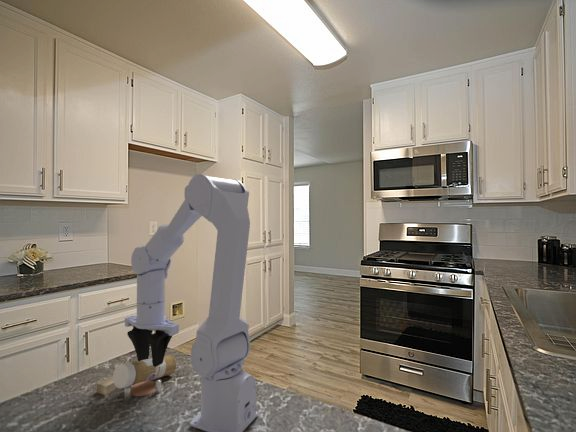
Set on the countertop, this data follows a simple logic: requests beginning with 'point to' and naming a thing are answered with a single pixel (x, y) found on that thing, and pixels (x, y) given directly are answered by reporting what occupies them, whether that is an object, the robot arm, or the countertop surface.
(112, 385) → the wooden bar with disc
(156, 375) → the sprinkles bottle
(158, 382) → the guide pins
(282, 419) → the countertop surface
